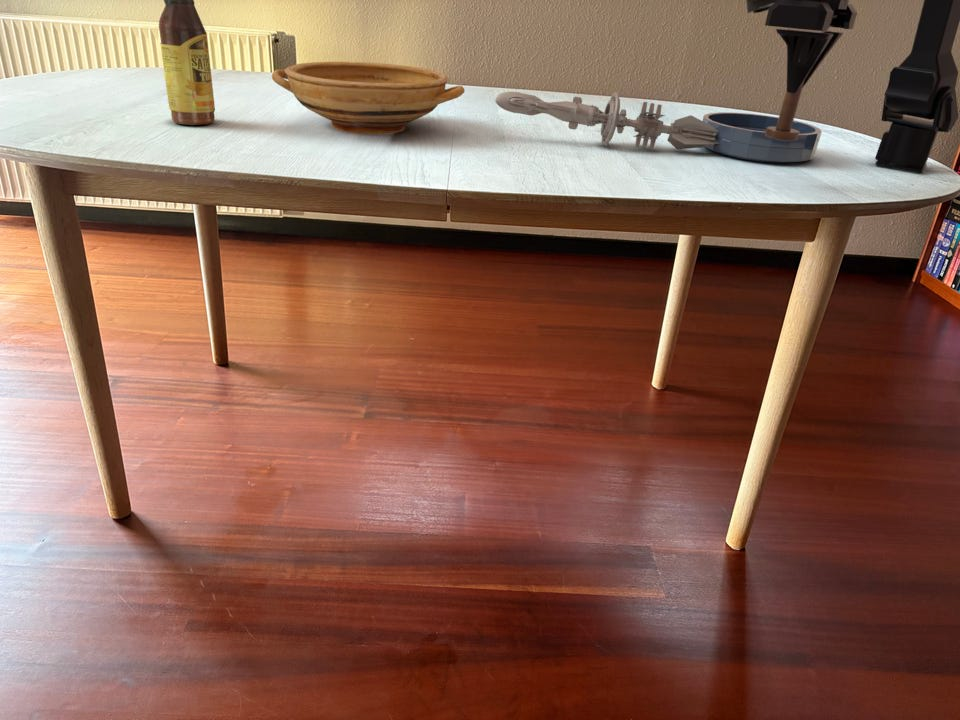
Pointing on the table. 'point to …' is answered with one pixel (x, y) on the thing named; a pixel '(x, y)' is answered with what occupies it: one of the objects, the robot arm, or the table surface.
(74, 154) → the table surface
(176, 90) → the sauce bottle
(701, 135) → the spaceship
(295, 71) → the ceramic bowl
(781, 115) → the stirring stick
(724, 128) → the mixing bowl
